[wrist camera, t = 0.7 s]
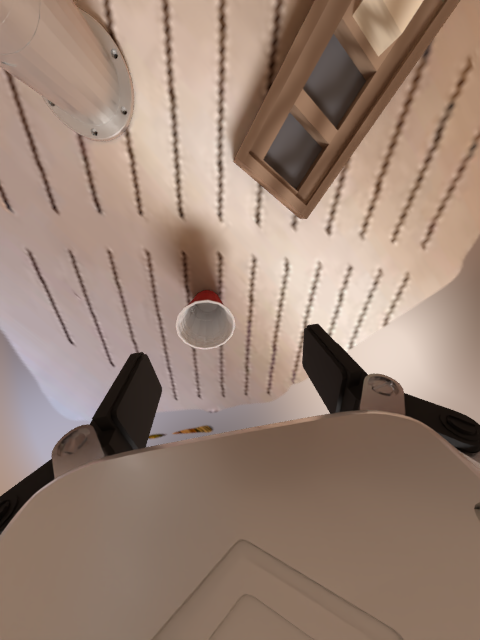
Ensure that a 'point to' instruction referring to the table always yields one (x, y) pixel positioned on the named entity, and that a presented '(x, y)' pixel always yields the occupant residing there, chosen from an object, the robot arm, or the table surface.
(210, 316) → the plastic cup
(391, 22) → the maple block
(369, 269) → the table surface
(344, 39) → the tray
